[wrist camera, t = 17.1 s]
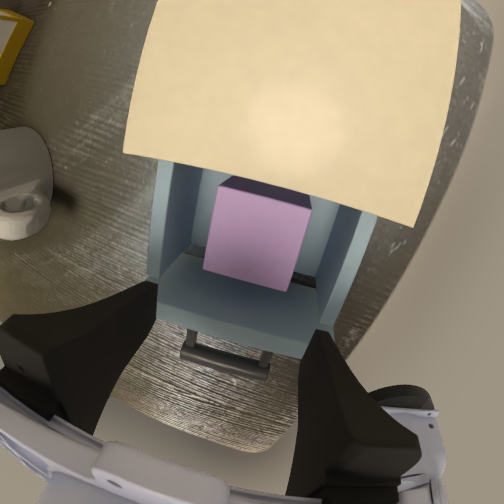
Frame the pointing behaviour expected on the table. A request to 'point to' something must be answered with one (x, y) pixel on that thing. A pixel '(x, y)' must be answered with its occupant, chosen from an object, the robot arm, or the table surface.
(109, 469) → the robot arm
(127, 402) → the table surface
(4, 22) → the soap bottle
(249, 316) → the drawer
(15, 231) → the coffee mug
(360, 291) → the table surface
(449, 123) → the table surface
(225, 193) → the block
